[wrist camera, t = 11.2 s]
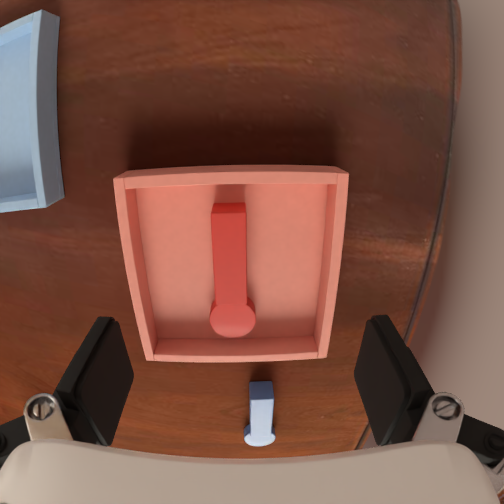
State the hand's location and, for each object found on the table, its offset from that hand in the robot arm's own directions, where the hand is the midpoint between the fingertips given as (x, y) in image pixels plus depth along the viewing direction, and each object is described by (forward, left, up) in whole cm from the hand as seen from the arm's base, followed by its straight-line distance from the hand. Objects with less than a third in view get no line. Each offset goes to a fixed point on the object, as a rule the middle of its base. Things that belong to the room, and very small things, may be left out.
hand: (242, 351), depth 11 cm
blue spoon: (-1, +18, -11) cm, 21 cm away
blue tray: (+19, -10, -11) cm, 24 cm away
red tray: (+1, +2, -11) cm, 11 cm away
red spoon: (+1, +2, -10) cm, 10 cm away
